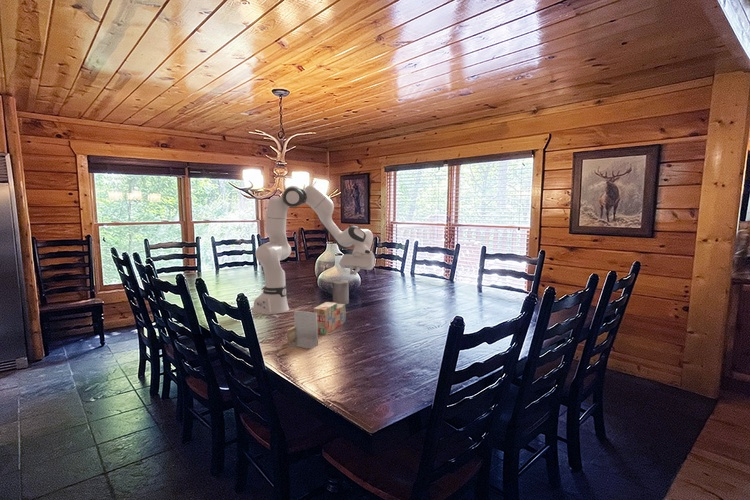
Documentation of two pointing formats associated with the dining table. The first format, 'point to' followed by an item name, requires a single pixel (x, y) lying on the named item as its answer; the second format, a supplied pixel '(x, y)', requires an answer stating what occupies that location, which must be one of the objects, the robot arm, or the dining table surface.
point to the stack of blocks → (329, 316)
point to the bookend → (305, 330)
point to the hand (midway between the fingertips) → (352, 274)
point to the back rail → (291, 335)
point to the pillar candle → (340, 292)
